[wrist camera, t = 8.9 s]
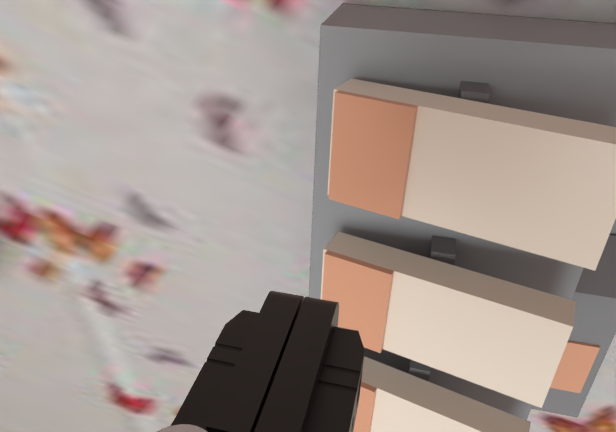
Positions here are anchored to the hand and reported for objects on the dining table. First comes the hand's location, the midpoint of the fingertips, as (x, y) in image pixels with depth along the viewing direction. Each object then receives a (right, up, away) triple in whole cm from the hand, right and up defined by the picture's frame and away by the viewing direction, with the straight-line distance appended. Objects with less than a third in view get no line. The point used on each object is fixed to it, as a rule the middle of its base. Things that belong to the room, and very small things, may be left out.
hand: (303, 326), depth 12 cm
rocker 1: (+6, +4, +7) cm, 10 cm away
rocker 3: (+5, -8, +15) cm, 17 cm away
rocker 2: (+6, -2, +11) cm, 12 cm away
